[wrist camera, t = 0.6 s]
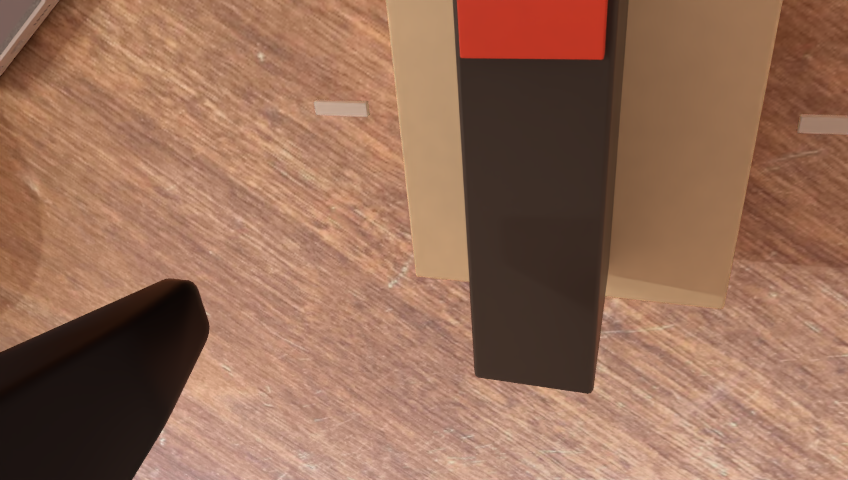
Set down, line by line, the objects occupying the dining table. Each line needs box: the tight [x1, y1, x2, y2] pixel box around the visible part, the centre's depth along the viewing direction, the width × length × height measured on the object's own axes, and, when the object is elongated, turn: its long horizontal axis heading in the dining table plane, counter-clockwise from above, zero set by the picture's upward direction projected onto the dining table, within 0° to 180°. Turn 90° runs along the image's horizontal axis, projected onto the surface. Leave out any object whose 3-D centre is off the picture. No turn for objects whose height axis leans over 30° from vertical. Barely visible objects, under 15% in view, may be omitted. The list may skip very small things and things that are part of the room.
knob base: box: [314, 0, 848, 309], centre depth 16 cm, size 12×12×3 cm
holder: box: [453, 0, 629, 394], centre depth 13 cm, size 8×2×5 cm, turn 5°
